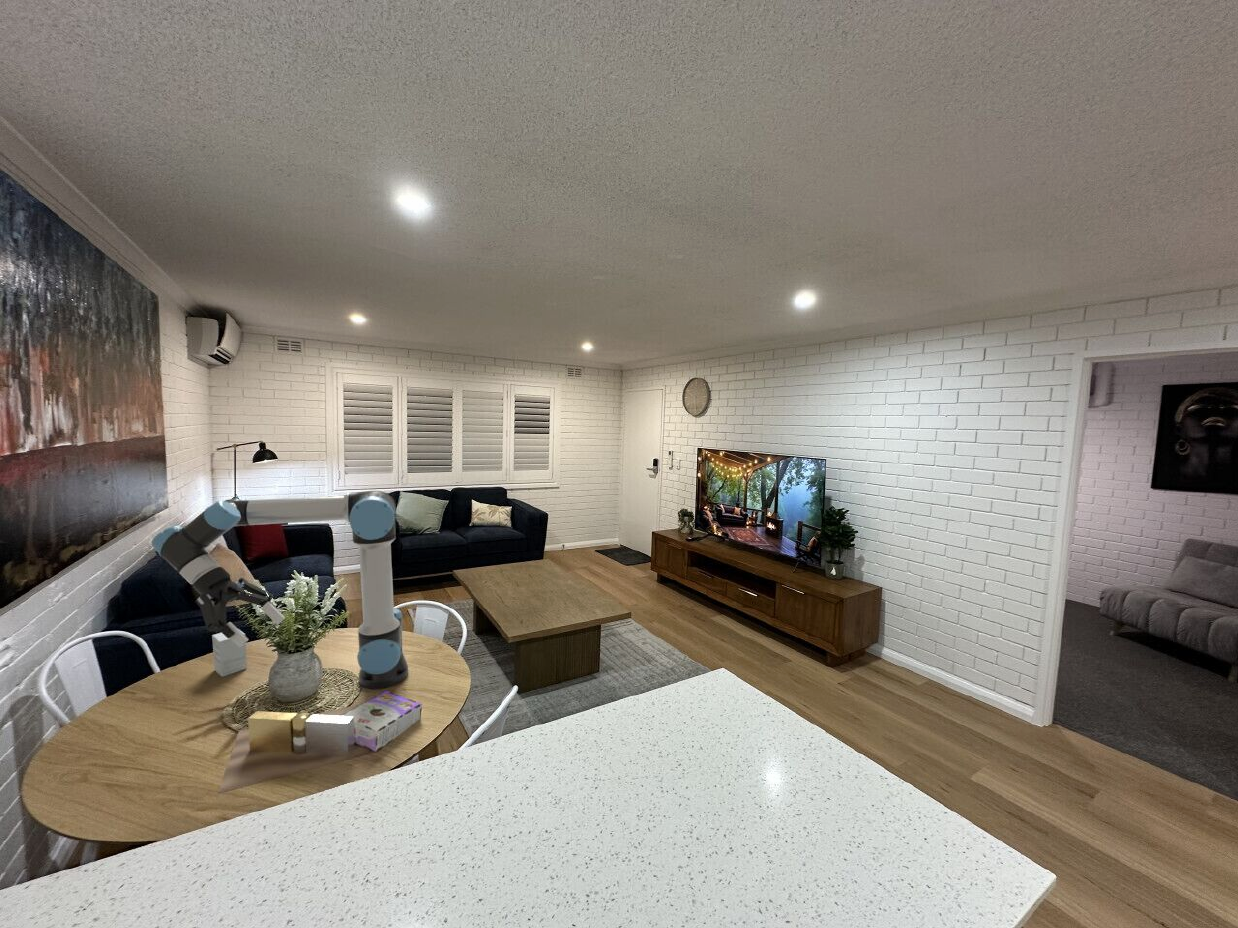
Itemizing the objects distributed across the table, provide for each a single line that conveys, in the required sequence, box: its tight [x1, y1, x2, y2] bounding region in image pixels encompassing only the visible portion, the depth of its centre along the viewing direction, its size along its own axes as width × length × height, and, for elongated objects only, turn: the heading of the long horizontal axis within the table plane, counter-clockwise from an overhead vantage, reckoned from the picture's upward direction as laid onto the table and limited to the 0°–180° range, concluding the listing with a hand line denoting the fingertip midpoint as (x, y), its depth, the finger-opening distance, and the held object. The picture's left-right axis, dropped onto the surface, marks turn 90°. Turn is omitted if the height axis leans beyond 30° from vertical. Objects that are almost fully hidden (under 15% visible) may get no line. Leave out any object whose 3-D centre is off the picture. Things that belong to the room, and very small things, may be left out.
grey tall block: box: [211, 628, 248, 678], centre depth 170 cm, size 7×7×13 cm
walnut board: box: [217, 703, 373, 794], centre depth 134 cm, size 25×32×1 cm
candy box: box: [342, 690, 423, 752], centre depth 141 cm, size 14×6×16 cm
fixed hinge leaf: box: [293, 713, 355, 756], centre depth 131 cm, size 4×15×9 cm, turn 88°
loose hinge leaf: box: [247, 710, 311, 753], centre depth 131 cm, size 4×15×9 cm, turn 89°
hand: (263, 631), depth 135 cm, fingers open, 13 cm apart
